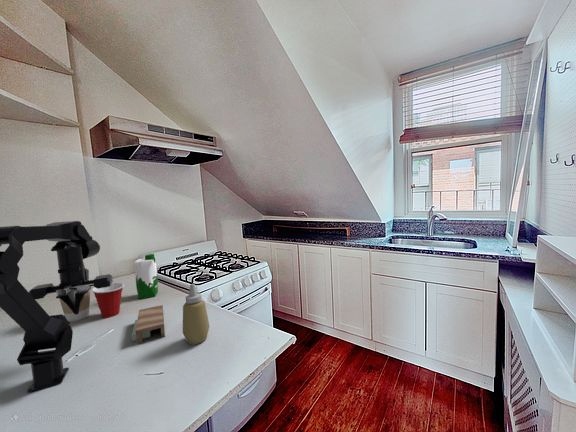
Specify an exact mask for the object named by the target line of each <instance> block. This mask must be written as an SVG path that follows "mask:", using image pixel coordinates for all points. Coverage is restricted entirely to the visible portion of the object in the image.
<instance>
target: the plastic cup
mask: <svg viewBox="0 0 576 432" xmlns="http://www.w3.org/2000/svg"><path fill="white" fill-rule="evenodd" d="M124 287H125V284H124V283H122V282H112V284H111V286H109V287H105V288H99V289H97V288H95V287H94V286H93V288H91V291H92V293H93V295H94V297H95V299H96V302H97V306H98V309H99V311H100V314H101V316H102V318H104V319H107V318H113V317H115V316H117V315H119V314H120V311H121V303H122V293H123V290H124V289H123V288H124Z"/></svg>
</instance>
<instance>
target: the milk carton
mask: <svg viewBox="0 0 576 432" xmlns="http://www.w3.org/2000/svg"><path fill="white" fill-rule="evenodd" d="M133 265H134V276H135V286H136V287H135V288H136V292H137V297H138V300H143V299H144V300H145V299H150V298H155V297H156V296H157V294H158V293H159V280H158V279H159V278H158V268H157V267H158V266H157V257H156V256H155V253H148V254H144V257H143V258H138V259H137V260H135V261H134V262H133Z"/></svg>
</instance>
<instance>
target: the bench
mask: <svg viewBox="0 0 576 432" xmlns="http://www.w3.org/2000/svg"><path fill="white" fill-rule="evenodd" d="M137 313H138V314H137V319H136V320H137V325H136V340H135V341H136V345H141V344H143V341H144V340H143V339H144V338H143V339H142V332H146V331H150V330H151V331H154V330H158V329H160V335H161V338H165V337H166V331H165V317H164V316H165V315H164V305H163V304H161V305H156V306H151V307H146V308H142V309H138V312H137Z"/></svg>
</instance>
